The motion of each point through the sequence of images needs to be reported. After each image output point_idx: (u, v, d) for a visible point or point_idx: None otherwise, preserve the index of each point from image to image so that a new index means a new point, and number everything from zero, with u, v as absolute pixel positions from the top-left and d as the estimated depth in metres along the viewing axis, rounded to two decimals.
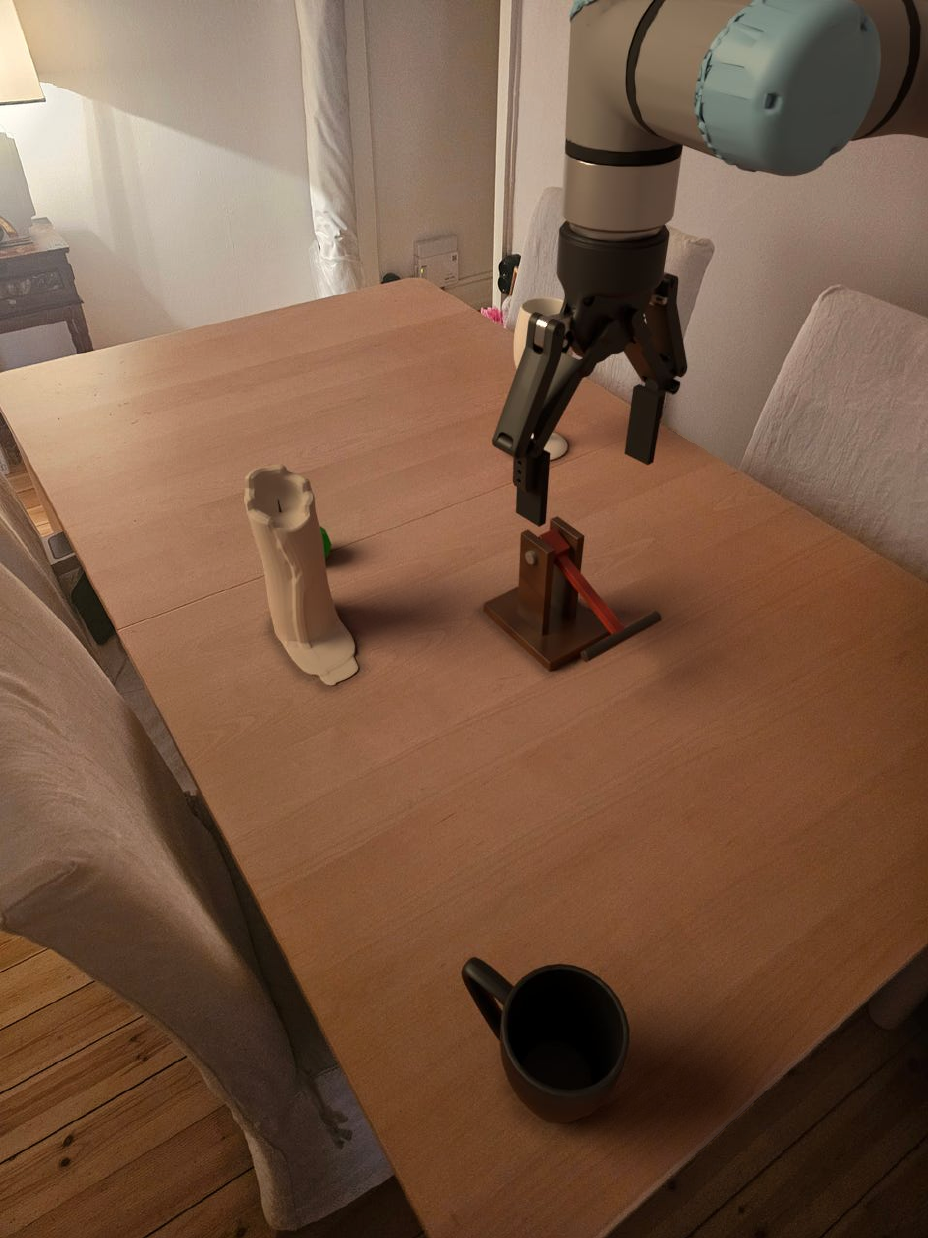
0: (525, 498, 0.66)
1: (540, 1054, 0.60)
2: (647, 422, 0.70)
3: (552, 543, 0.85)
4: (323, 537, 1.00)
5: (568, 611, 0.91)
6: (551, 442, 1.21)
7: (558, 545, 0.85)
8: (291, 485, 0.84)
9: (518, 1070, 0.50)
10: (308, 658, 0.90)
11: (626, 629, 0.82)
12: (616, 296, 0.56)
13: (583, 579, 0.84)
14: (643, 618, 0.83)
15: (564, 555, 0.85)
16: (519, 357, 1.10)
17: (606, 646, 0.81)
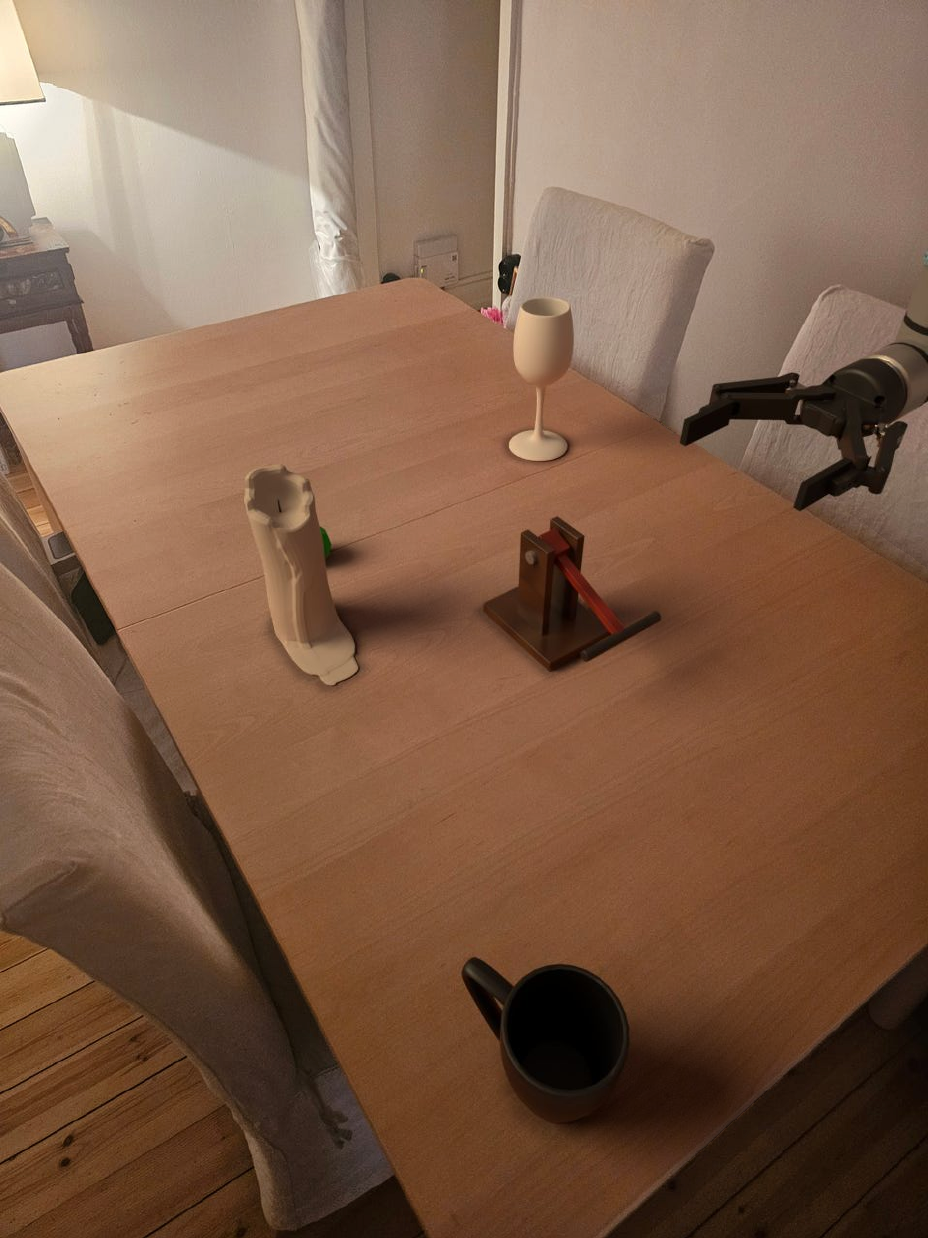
0: None
1: (540, 1054, 0.60)
2: None
3: (552, 543, 0.85)
4: (323, 537, 1.00)
5: (568, 611, 0.91)
6: (551, 442, 1.21)
7: (558, 545, 0.85)
8: (291, 485, 0.84)
9: (518, 1070, 0.50)
10: (308, 658, 0.90)
11: (626, 629, 0.82)
12: (839, 370, 0.84)
13: (583, 579, 0.84)
14: (643, 618, 0.83)
15: (564, 555, 0.85)
16: (519, 357, 1.10)
17: (606, 646, 0.81)
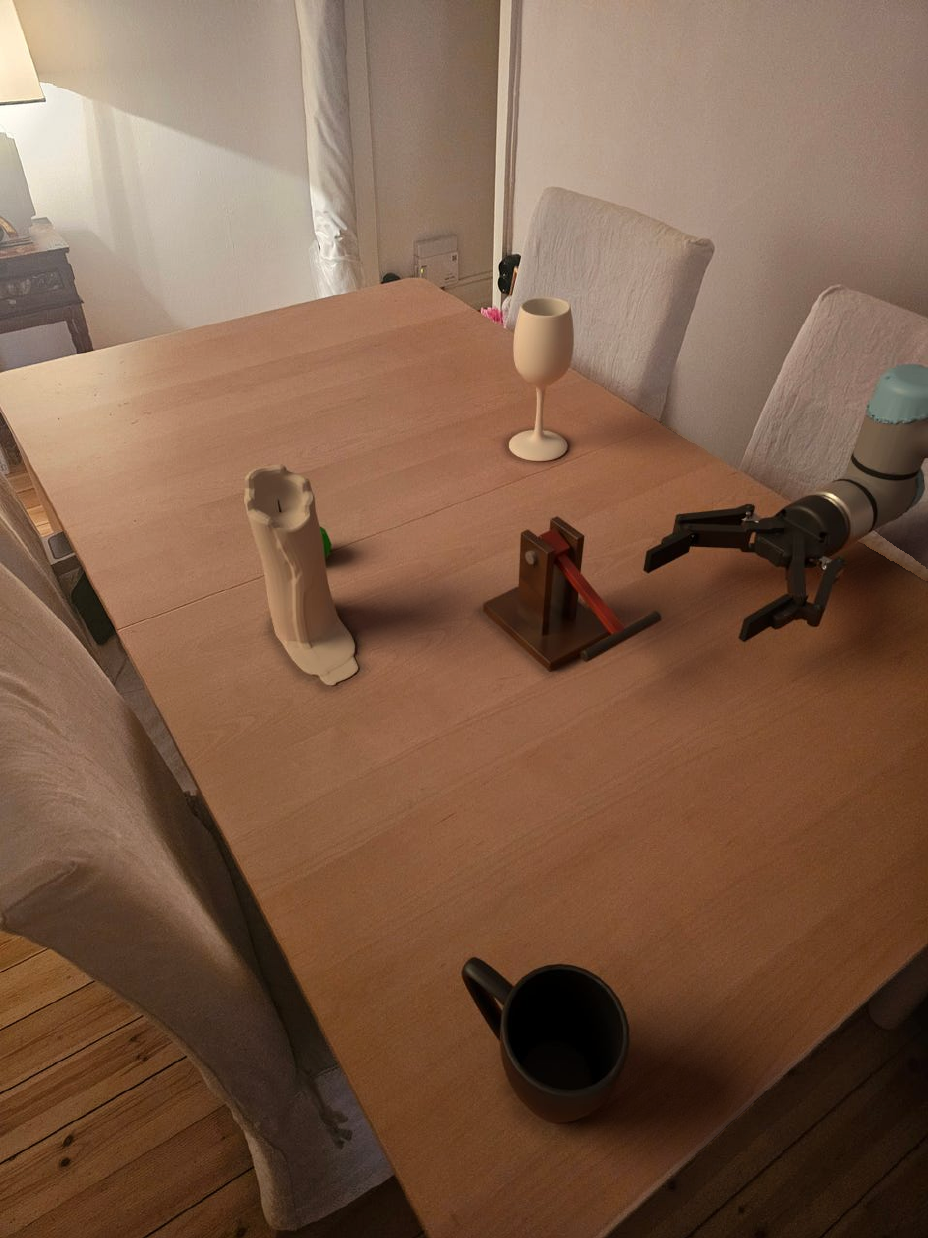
0: None
1: (540, 1054, 0.60)
2: None
3: (552, 543, 0.85)
4: (323, 537, 1.00)
5: (568, 611, 0.91)
6: (551, 442, 1.21)
7: (558, 545, 0.85)
8: (291, 485, 0.84)
9: (518, 1070, 0.50)
10: (308, 658, 0.90)
11: (626, 629, 0.82)
12: (789, 505, 0.93)
13: (583, 579, 0.84)
14: (643, 618, 0.83)
15: (564, 555, 0.85)
16: (519, 357, 1.10)
17: (606, 646, 0.81)
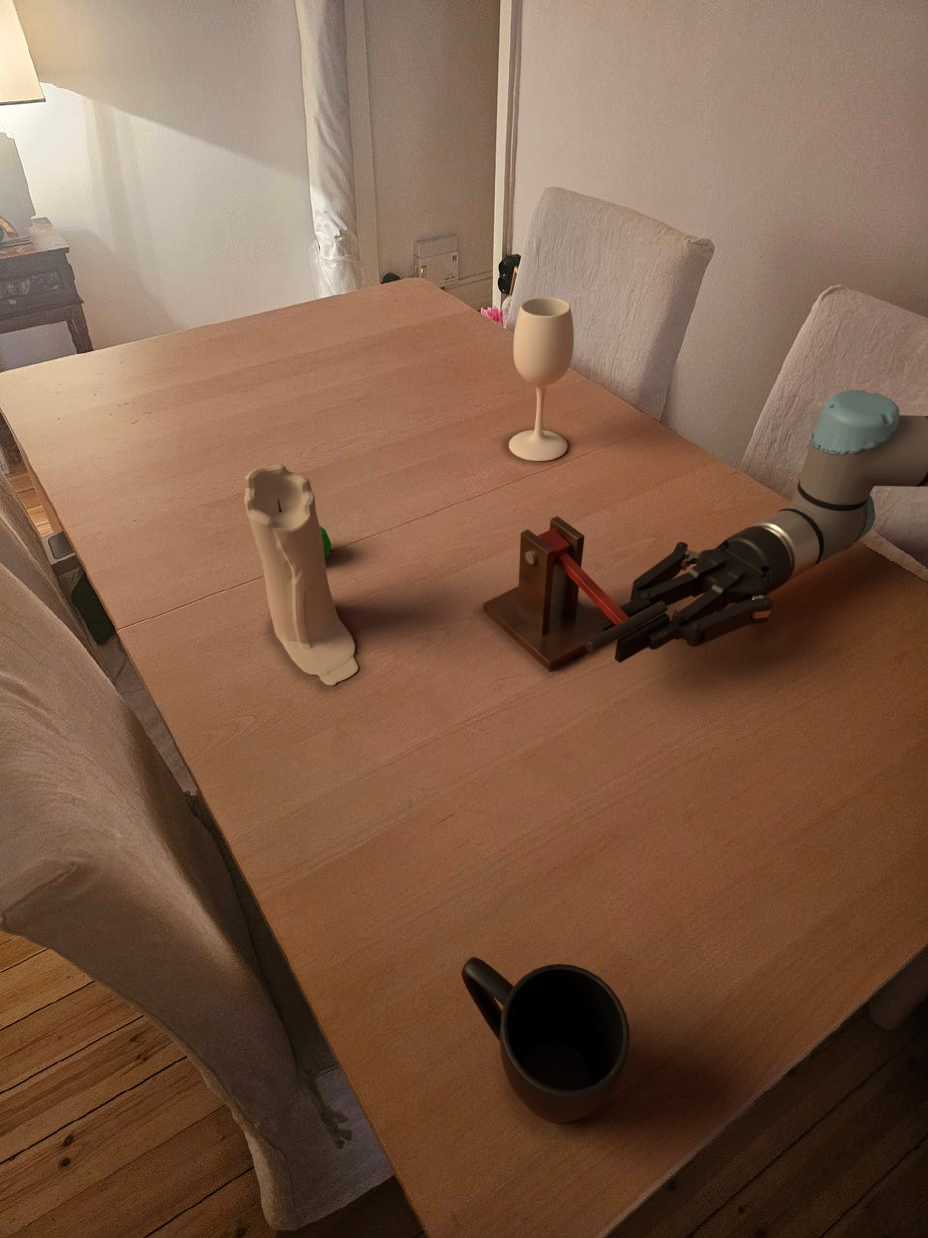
0: None
1: (540, 1054, 0.60)
2: None
3: (551, 541, 0.85)
4: (323, 537, 1.00)
5: (568, 611, 0.91)
6: (551, 442, 1.21)
7: (557, 543, 0.85)
8: (291, 485, 0.84)
9: (518, 1070, 0.50)
10: (308, 658, 0.90)
11: (631, 619, 0.81)
12: (731, 537, 0.89)
13: (584, 574, 0.84)
14: (648, 608, 0.82)
15: (564, 553, 0.85)
16: (519, 357, 1.10)
17: (611, 636, 0.79)
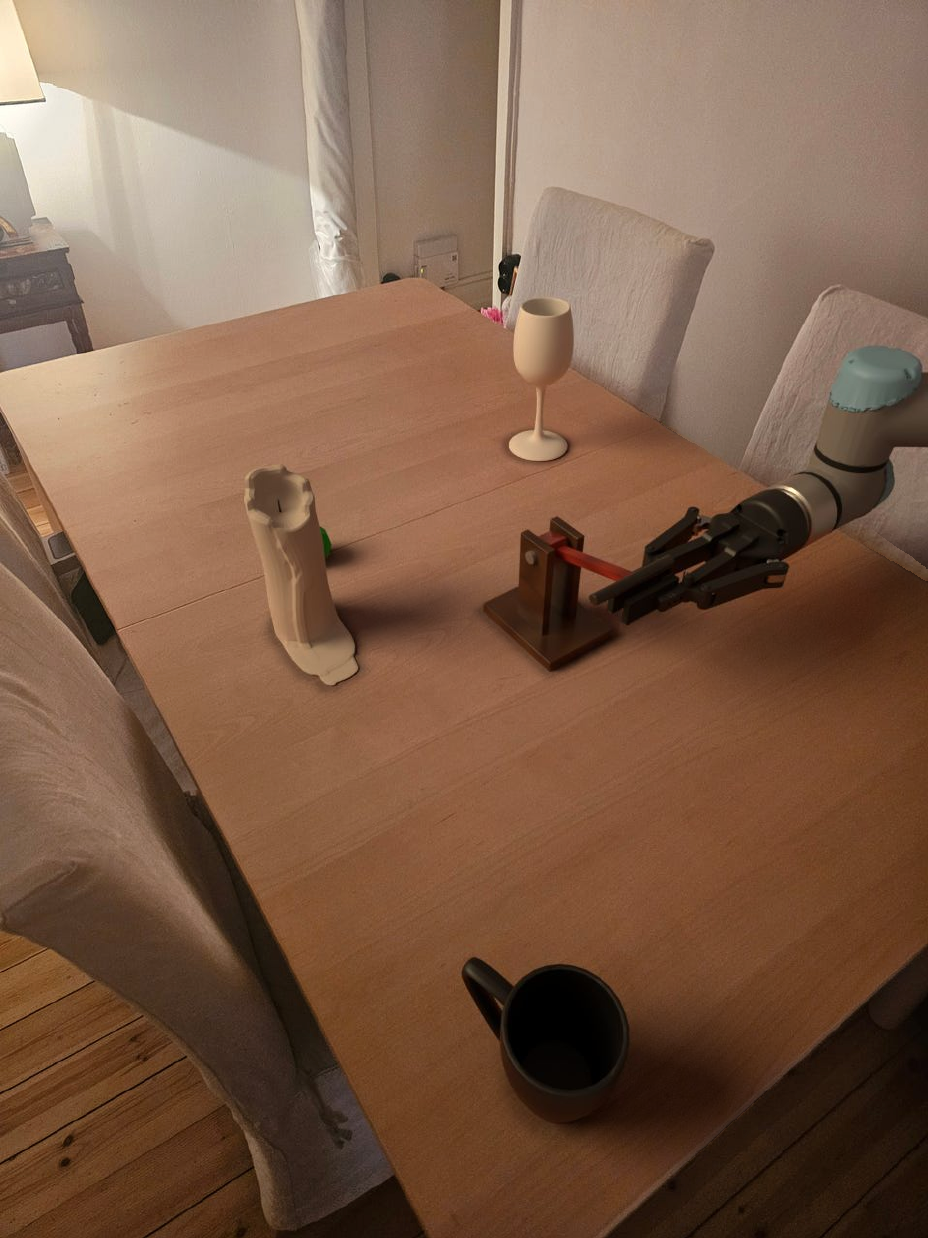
0: None
1: (540, 1054, 0.60)
2: None
3: (547, 538, 0.85)
4: (323, 537, 1.00)
5: (568, 611, 0.91)
6: (551, 442, 1.21)
7: (554, 538, 0.85)
8: (291, 485, 0.84)
9: (518, 1070, 0.50)
10: (308, 658, 0.90)
11: (635, 572, 0.77)
12: (745, 500, 0.86)
13: (584, 554, 0.82)
14: (653, 562, 0.78)
15: (563, 546, 0.85)
16: (519, 357, 1.10)
17: (615, 587, 0.75)
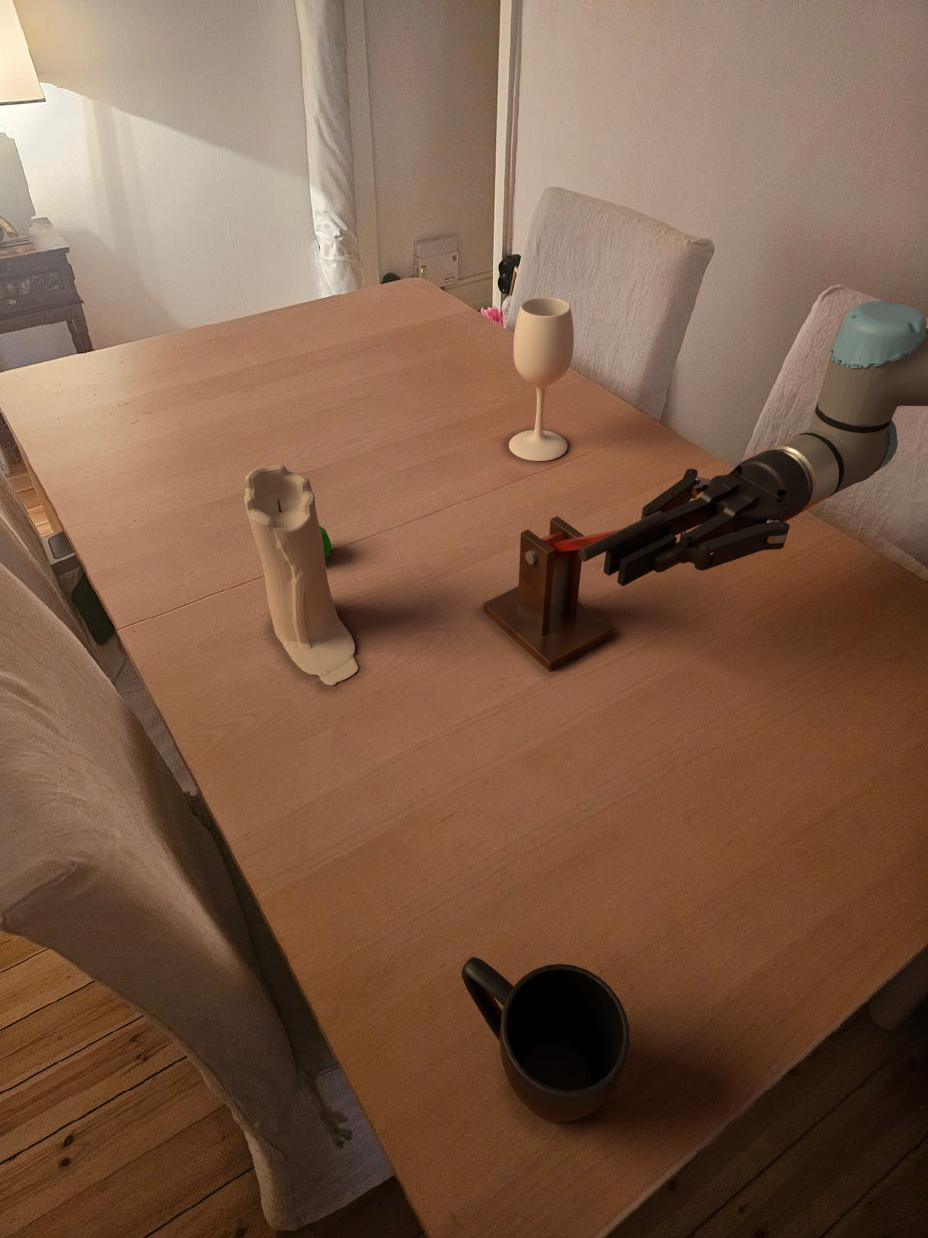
0: None
1: (540, 1054, 0.60)
2: None
3: (545, 538, 0.86)
4: (323, 537, 1.00)
5: (568, 611, 0.91)
6: (551, 442, 1.21)
7: (551, 536, 0.85)
8: (291, 485, 0.84)
9: (518, 1070, 0.50)
10: (308, 658, 0.90)
11: (624, 529, 0.76)
12: (745, 461, 0.84)
13: (579, 537, 0.82)
14: None
15: (560, 540, 0.85)
16: (519, 357, 1.10)
17: (603, 540, 0.74)
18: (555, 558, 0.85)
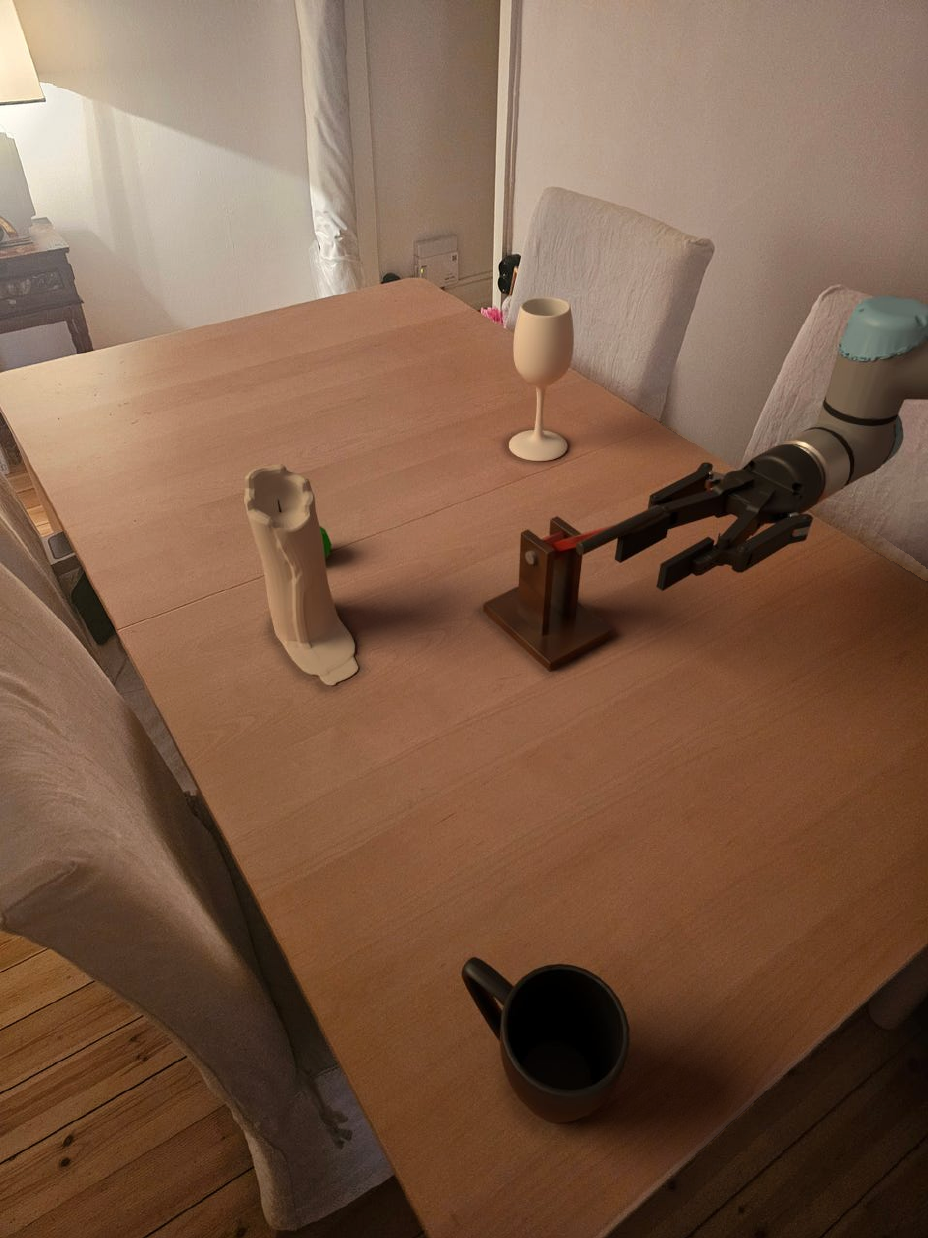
0: None
1: (540, 1054, 0.60)
2: None
3: (545, 538, 0.86)
4: (323, 537, 1.00)
5: (568, 611, 0.91)
6: (551, 442, 1.21)
7: (550, 536, 0.86)
8: (291, 485, 0.84)
9: (518, 1070, 0.50)
10: (308, 658, 0.90)
11: None
12: (758, 456, 0.84)
13: (578, 535, 0.82)
14: None
15: (560, 539, 0.85)
16: (519, 357, 1.10)
17: (600, 533, 0.74)
18: (555, 557, 0.85)
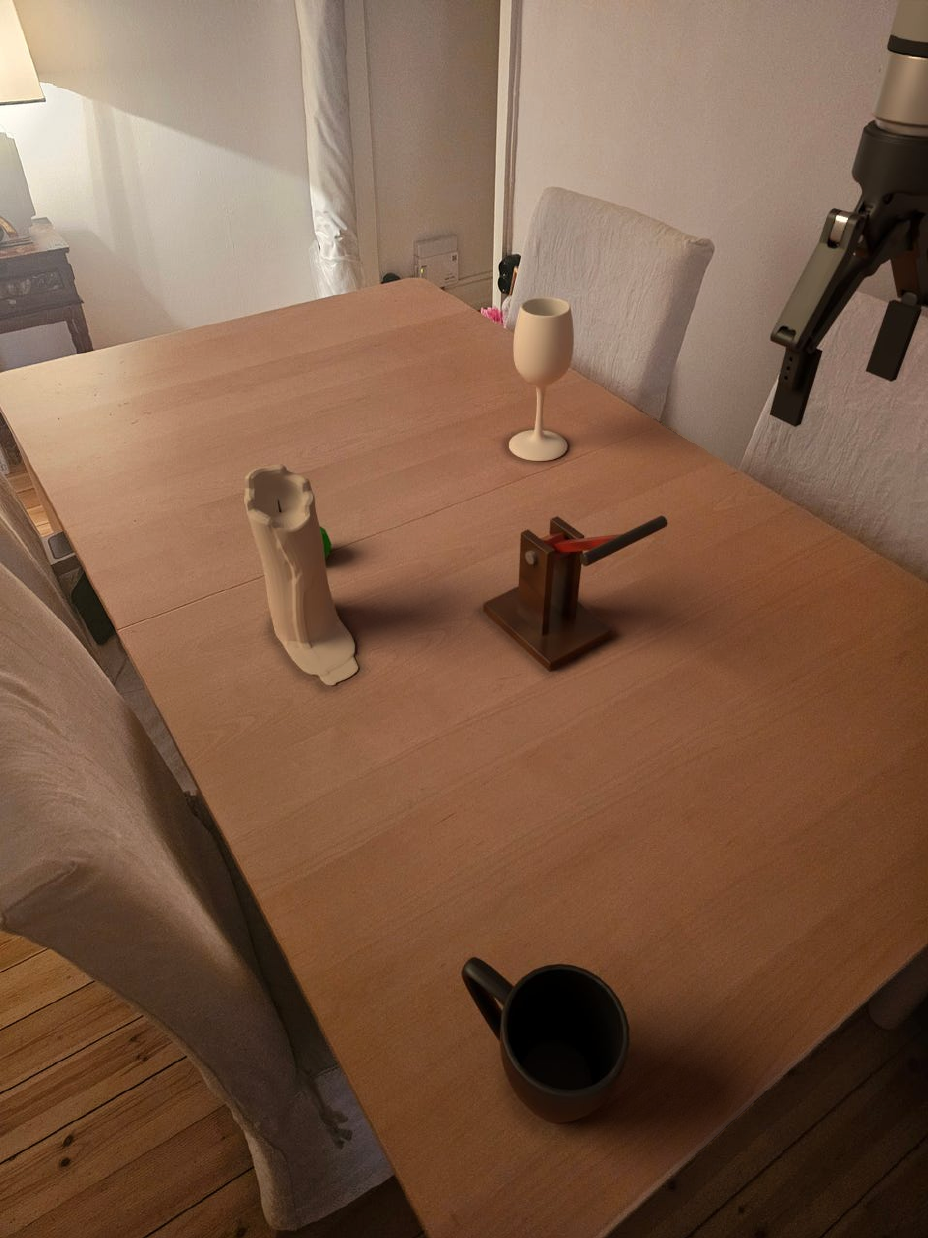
0: (784, 398, 0.69)
1: (540, 1054, 0.60)
2: (899, 337, 0.73)
3: (545, 538, 0.86)
4: (323, 537, 1.00)
5: (568, 611, 0.91)
6: (551, 442, 1.21)
7: (551, 536, 0.85)
8: (291, 485, 0.84)
9: (518, 1070, 0.50)
10: (308, 658, 0.90)
11: None
12: (919, 193, 0.58)
13: (580, 539, 0.82)
14: None
15: (561, 541, 0.85)
16: (519, 357, 1.10)
17: (604, 545, 0.74)
18: (555, 559, 0.85)
